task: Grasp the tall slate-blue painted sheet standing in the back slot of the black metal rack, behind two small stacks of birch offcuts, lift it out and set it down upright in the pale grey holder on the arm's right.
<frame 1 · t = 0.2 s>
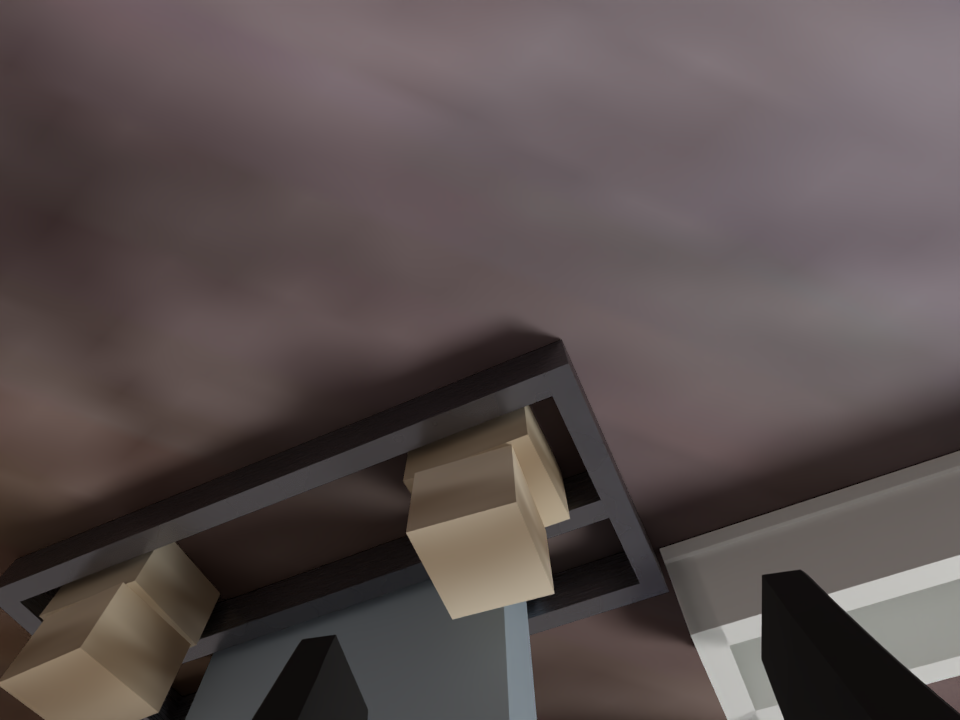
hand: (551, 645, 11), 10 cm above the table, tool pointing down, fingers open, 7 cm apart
birch offcut 1: (152, 575, 24), resting in rack
holder: (896, 536, 23), on the table
birch offcut 2: (119, 630, 22), point 2 cm above the table
birch offcut stack 2: (487, 451, 21), resting in rack
rack: (336, 558, 23), on the table
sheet: (370, 600, 24), resting in rack
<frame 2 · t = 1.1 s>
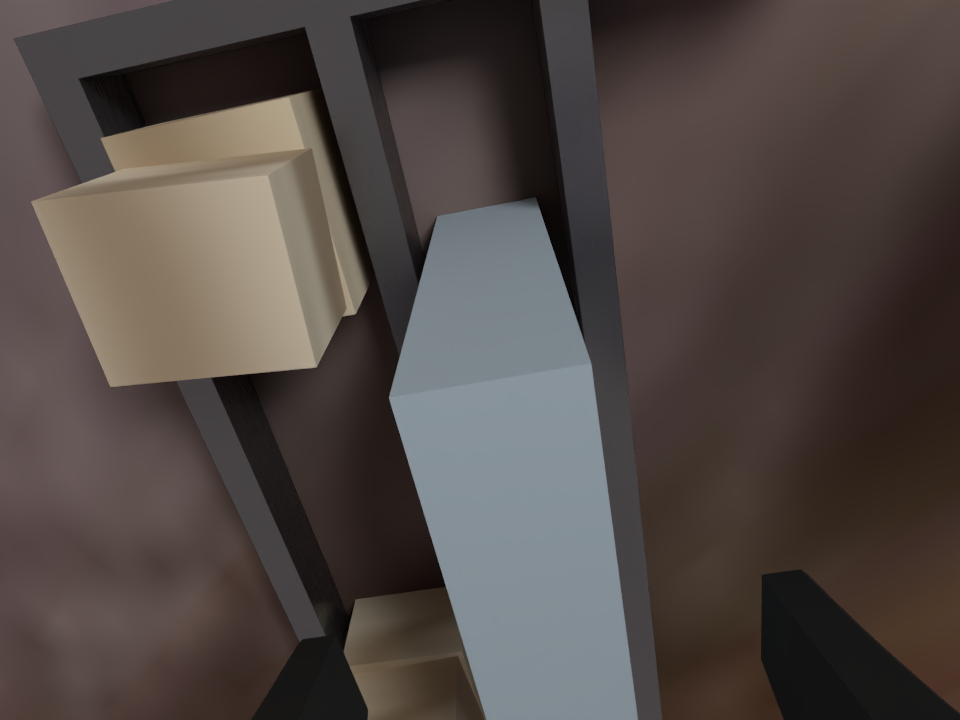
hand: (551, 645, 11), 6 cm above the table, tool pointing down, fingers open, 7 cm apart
birch offcut 1: (424, 632, 20), resting in rack, touching birch offcut 2
birch offcut 2: (416, 705, 18), point 2 cm above the table, touching birch offcut 1
birch offcut stack 2: (276, 201, 14), resting in rack
rack: (436, 448, 17), on the table
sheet: (529, 430, 16), resting in rack
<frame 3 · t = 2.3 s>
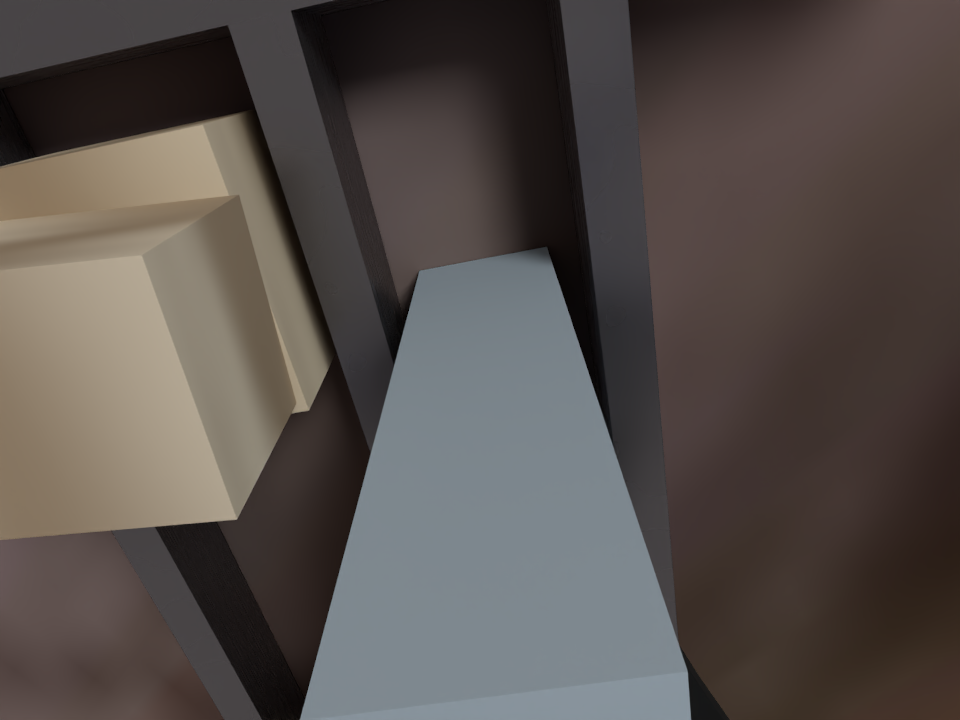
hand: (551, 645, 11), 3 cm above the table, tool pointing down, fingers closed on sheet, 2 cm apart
birch offcut stack 2: (211, 251, 11), resting in rack
rack: (422, 545, 13), on the table
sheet: (536, 527, 13), resting in rack, touching gripper
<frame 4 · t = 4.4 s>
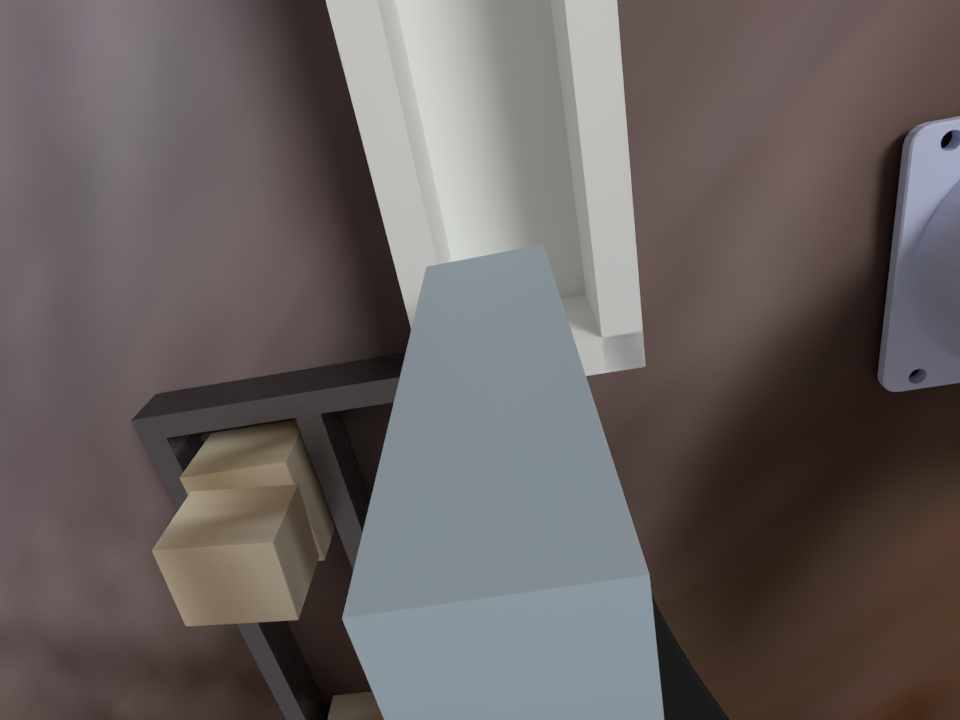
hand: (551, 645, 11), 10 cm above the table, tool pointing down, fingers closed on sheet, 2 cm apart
birch offcut 1: (382, 717, 28), resting in rack, touching birch offcut 2
holder: (480, 40, 16), on the table
birch offcut stack 2: (278, 472, 22), resting in rack
rack: (383, 606, 25), on the table
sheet: (534, 507, 14), point 7 cm above the table, touching gripper
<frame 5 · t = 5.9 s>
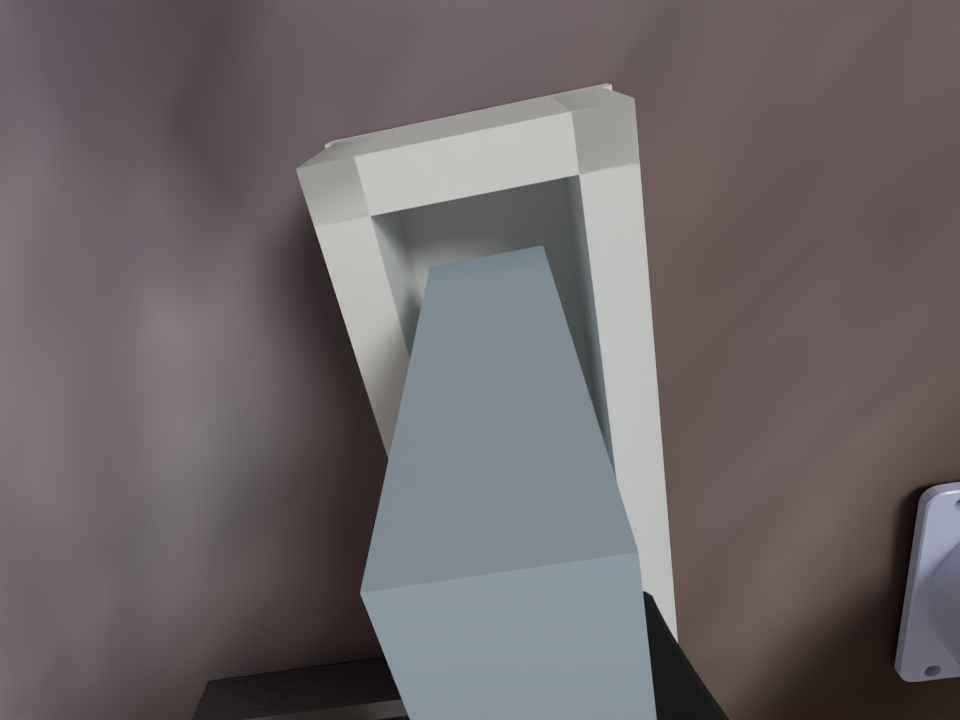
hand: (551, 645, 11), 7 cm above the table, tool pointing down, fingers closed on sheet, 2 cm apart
holder: (526, 424, 17), on the table
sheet: (534, 498, 15), point 3 cm above the table, touching gripper
when the fingers open (5 cm above the table, at t = 6.6 s): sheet stays where it is, resting on holder.
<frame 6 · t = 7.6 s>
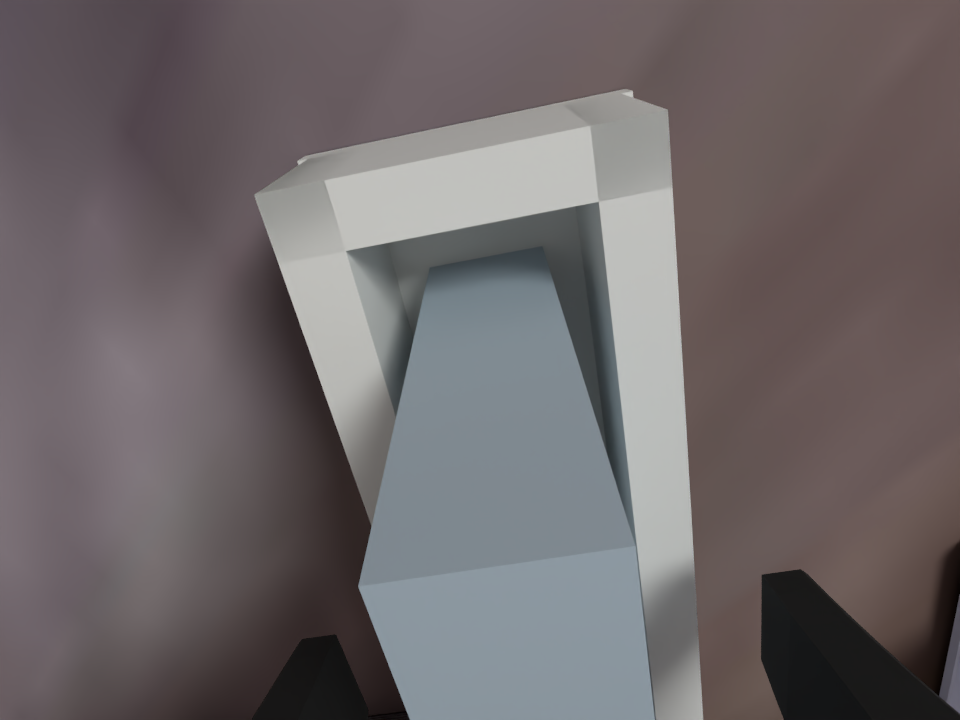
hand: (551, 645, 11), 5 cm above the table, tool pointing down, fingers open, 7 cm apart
holder: (530, 470, 15), on the table
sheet: (533, 499, 15), point 1 cm above the table, touching holder
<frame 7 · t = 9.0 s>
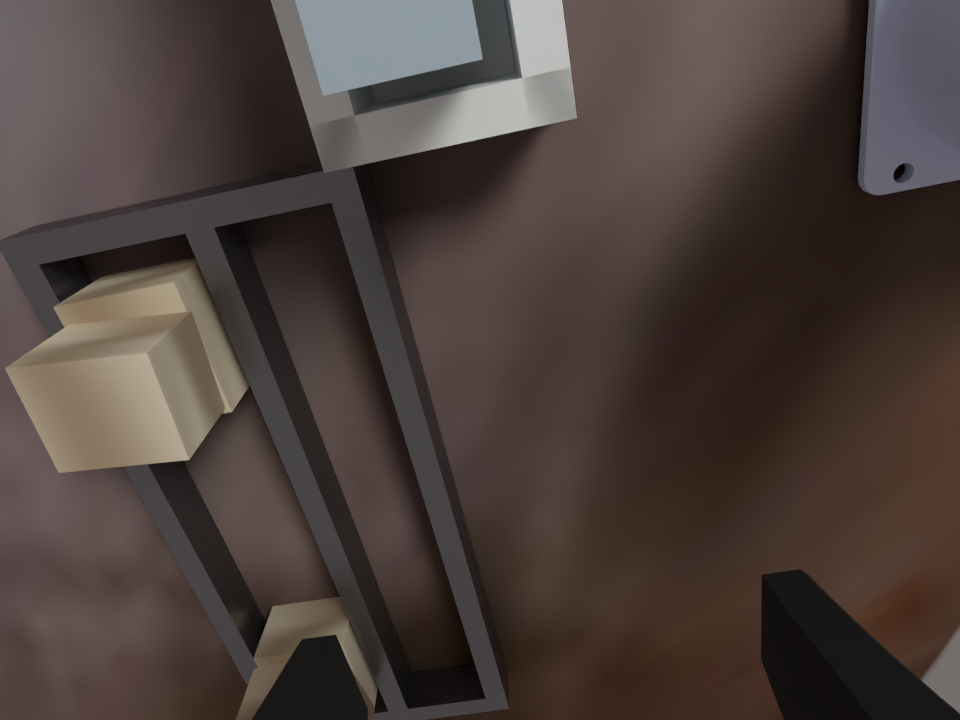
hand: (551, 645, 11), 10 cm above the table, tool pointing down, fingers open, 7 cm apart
birch offcut 1: (329, 632, 26), resting in rack, touching birch offcut 2
birch offcut 2: (315, 688, 24), point 2 cm above the table, touching birch offcut 1
birch offcut stack 2: (184, 325, 19), resting in rack
rack: (316, 492, 22), on the table
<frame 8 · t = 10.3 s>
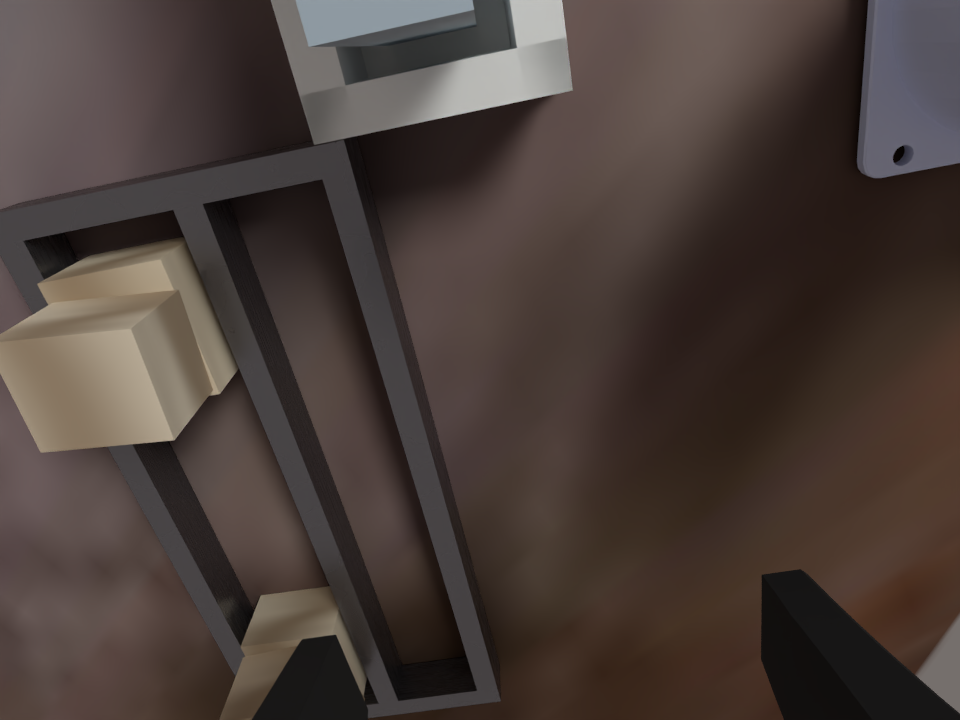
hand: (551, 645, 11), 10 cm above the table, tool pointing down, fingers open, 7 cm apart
birch offcut 1: (318, 622, 25), resting in rack, touching birch offcut 2
birch offcut 2: (305, 678, 23), point 2 cm above the table, touching birch offcut 1
birch offcut stack 2: (172, 306, 19), resting in rack
rack: (307, 479, 22), on the table
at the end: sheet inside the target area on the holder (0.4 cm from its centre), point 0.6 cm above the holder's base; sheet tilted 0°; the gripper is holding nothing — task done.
